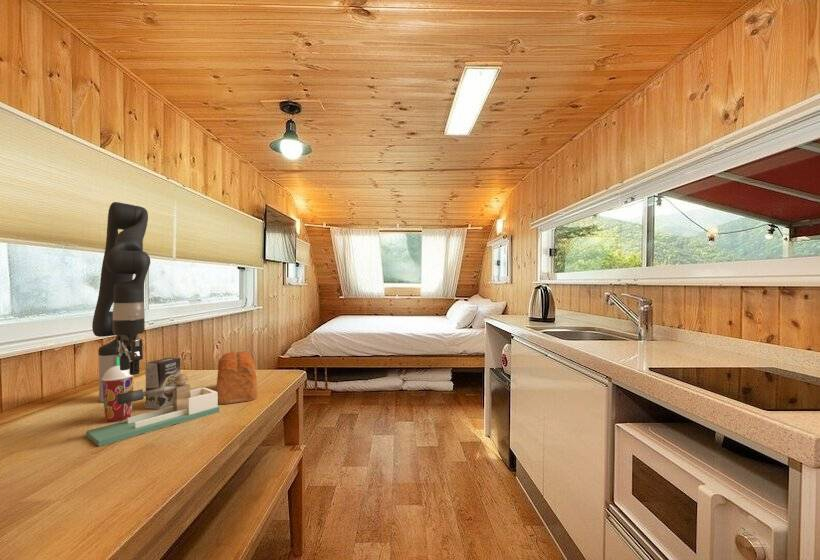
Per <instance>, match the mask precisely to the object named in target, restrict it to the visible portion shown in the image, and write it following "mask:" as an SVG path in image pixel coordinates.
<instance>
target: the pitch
mask: <svg viewBox="0 0 820 560" xmlns="http://www.w3.org/2000/svg"><path fill="white" fill-rule="evenodd" d="M198 395H200V396H198ZM219 412H220V407H219V403H218V392H216V390H213V389H210V388H207V387H198V388H194V389H190V398H188V410H187V409H182V410H179V411H175V412H174V411H173V405H171V406H167V407H165V408H162V409H155V410H153V411H149V412H143V413H140V414H136V415H132V416H130V417H128V418H127V419H125V420H122V421H118V422H114V423H111V424H108V425H107V424H106V425H103V426H100V427H96V428H93V429H92V428H91V429H89V430H86V431H85V432H86V437H87V438H88V439H90V441H92V442H93V443H94V444H95V445H96V446H97V445H98V446H100V447H103V445H104V446H106V445H111V444H113V443H116V442H121V441H123V439H124V440H127V439H126V438H128V439H130V437H131V438H133V437H132V436H134V437H137V436H136V435H138V436H140V435H139V434H141V435H143V434H142V433H145V434H147V433H146V432H148V433H150V432H149V431H152V430H155V431H157V430H156V429H158V430H160V429H159V428H162V427H165V428H167V427H166V426H169V425H172V426H174V425H173V424H176V425H178V424H177V423H179V424H182V423H185V422H189V421H193V420H196V419H199V418H203V417H206V416H210V415H213V414H217V413H219ZM181 422H182V423H181ZM169 427H170V426H169ZM162 429H163V428H162ZM152 432H153V431H152ZM120 440H121V441H120ZM98 446H97V447H98Z"/></svg>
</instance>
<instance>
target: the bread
mask: <svg viewBox="0 0 820 560" xmlns="http://www.w3.org/2000/svg"><path fill="white" fill-rule="evenodd" d="M215 389H216V390H215V391H216V392H218V405H230V404H237V403H244V402H248V401H250V402H251V401H252V400H253V401H254V400H255V399H256V398H257V397H258V379H257V372H256V366H255V362H254V358H253V356H251V354H250V353H248V352H247V351H237V352H234V351H231V352H227V353H225V354H223V355H222V356H221V357H220V358H219V360H218V365H217V379H216V387H215Z"/></svg>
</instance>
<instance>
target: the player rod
mask: <svg viewBox="0 0 820 560" xmlns="http://www.w3.org/2000/svg"><path fill="white" fill-rule="evenodd" d="M188 380H189V377H188V375H187V374H184V373H180V375H178V376H177V377H176V378H175V383H176V384H177V385H173V386H168V387H163V388H159V389H154V390H149V391H146V390H144V389H142V388H141V389H137V390H133V391H132V392H127V393H122V394H117V396H116V402H117V405H120V404H125V403H129V402H132V403H133V402H138V401H142V400H144V397H146V396H148V395H152V394H157V393H161V392H166V391H170V390H173V404H172V406H173V411H174V412H175V411H179V410H182V409H187V410H188V398H190V390H191V385H190V384H189V383H188ZM186 383H187V384H186Z"/></svg>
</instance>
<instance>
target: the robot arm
mask: <svg viewBox="0 0 820 560" xmlns="http://www.w3.org/2000/svg"><path fill="white" fill-rule="evenodd" d="M148 221H149V213H148V210H147V209H146V208H145V207H142V206H140V205H135V204H134V205H133V204H130V203H123V202H118V201H113V202H112V203H110V205H109V209H108V213H107V227H106V240H105V247H104V255H103V258H102V264H101V272H100V281H99V291H98V295H97V296H98V297H97V301H96V306H95V310H94V314H93V318H92V325H91V326H92V333H93V335H94V336H96V337H101V338H102V337H103V338H104V337H111V336H116V337H115V338H114V339H113V340H112V341H110V342H108V343H106V344H104V345H103V344H102V345H101V346H99V348H98V355H97V356H98V402H99V403H104V399H103V388H102V380H101V379H102V378H103V376H104V374H105V373H106V371H107V370H108V369H110V368H111V367H113V366H116V365H117V357H119V365H120V370H122V371H123V370H128V369H129V373H130V375H134V376H135V375H139V374H140V362H141V360H144V359H143V358H144V357H143V356H144V355H143V354H144V353H143V351H144V350H143V349H144V348H143V339H142V338H139V337H138V335H139V334H143V333H144V332H145V328H146V327H145V326H146V325H145V322H146V321H145V317H146V316H145V306H144V305H145V304H144V289H145V288H144V286H145V281H146V277H147V275H148V272H149V269H150V266H151V258H150V256H149V254H148V253H147V252H146V251H144V248H143V247H144V237H145V235H146V231H147V227H148ZM119 230H121V231H120V232H119ZM134 275H135V276H134ZM111 307H113V308H112V310H111ZM110 310H111V311H110Z"/></svg>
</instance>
